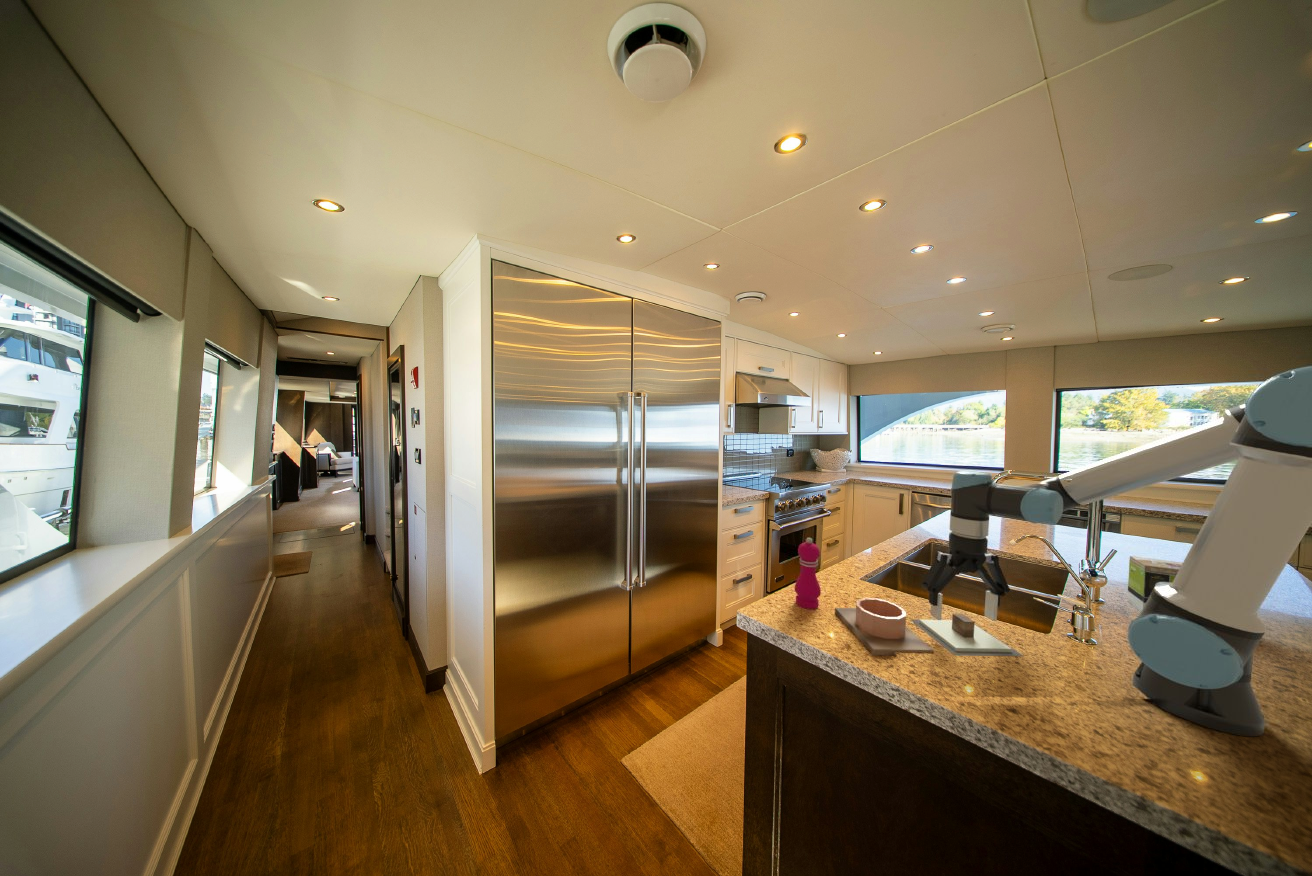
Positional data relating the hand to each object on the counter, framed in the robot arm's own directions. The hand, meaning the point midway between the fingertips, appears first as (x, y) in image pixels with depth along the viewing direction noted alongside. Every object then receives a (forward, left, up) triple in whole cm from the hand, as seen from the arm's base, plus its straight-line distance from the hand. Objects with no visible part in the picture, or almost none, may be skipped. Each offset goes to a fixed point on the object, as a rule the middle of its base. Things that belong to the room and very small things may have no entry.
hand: (963, 618), depth 99 cm
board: (+3, +19, -6) cm, 20 cm away
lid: (0, 0, -5) cm, 5 cm away
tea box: (+15, -72, -6) cm, 74 cm away
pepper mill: (+18, +32, -6) cm, 37 cm away
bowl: (+3, +19, -4) cm, 20 cm away
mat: (0, 0, -6) cm, 6 cm away
